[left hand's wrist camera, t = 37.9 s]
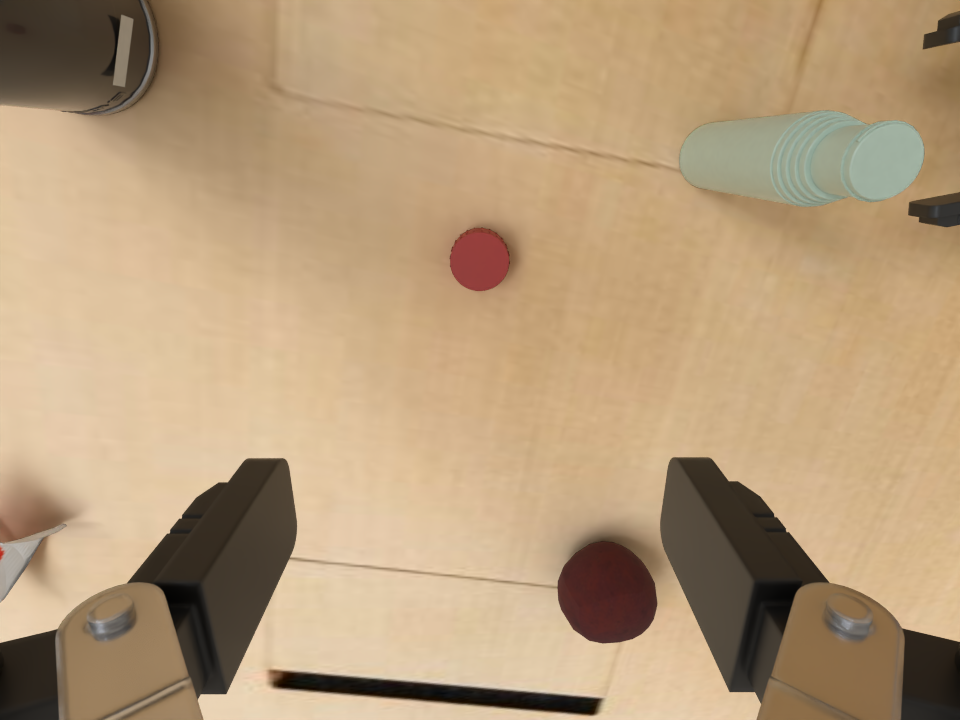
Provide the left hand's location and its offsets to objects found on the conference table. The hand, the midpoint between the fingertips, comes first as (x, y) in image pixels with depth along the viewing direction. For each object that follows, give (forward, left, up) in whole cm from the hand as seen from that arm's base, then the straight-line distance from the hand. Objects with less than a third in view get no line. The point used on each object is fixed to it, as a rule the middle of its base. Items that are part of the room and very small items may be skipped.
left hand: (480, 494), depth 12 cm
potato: (+28, +4, -28) cm, 40 cm away
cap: (0, 0, -27) cm, 27 cm away
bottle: (-3, +16, -28) cm, 33 cm away
